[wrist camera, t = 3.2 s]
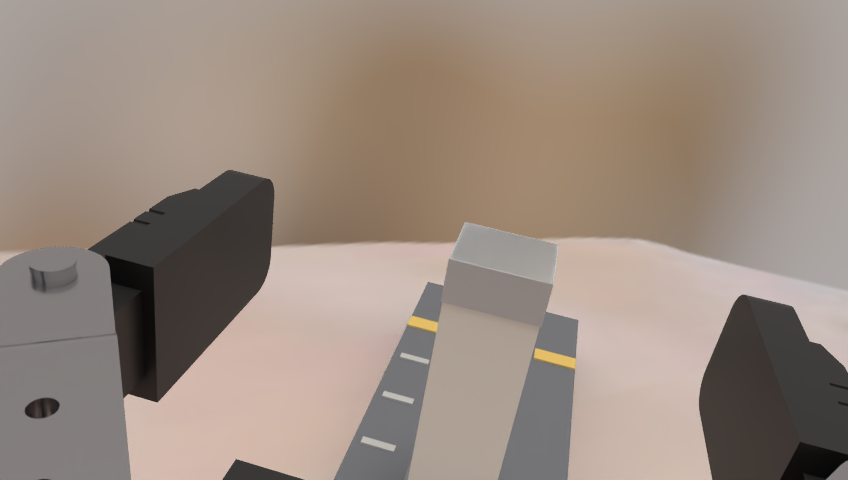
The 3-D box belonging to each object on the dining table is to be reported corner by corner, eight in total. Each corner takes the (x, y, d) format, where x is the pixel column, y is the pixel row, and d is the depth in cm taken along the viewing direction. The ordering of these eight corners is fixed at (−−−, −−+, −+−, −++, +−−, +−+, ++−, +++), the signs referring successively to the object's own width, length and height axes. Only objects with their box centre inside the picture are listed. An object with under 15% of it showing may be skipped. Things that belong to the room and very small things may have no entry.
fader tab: (483, 576, 27) (563, 296, 21) (382, 545, 27) (434, 263, 21) (497, 498, 30) (569, 240, 24) (408, 472, 31) (458, 213, 25)
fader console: (536, 727, 25) (553, 684, 24) (274, 639, 26) (278, 594, 25) (568, 351, 46) (578, 318, 45) (422, 313, 47) (428, 280, 46)
